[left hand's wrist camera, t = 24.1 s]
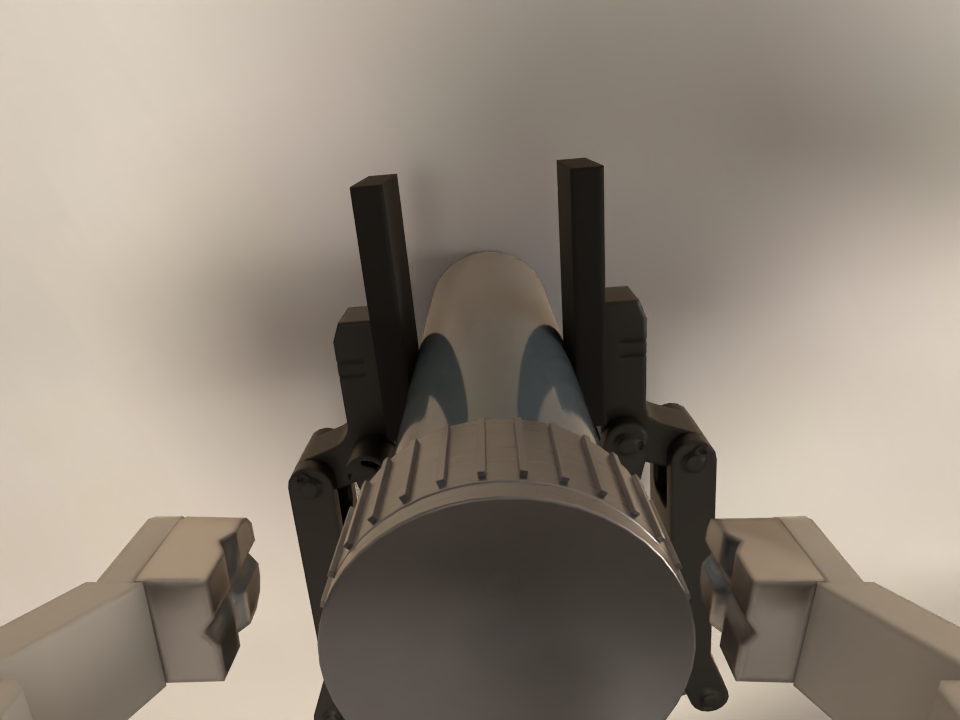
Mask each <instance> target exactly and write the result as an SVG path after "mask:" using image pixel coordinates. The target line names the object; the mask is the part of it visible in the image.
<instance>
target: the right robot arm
mask: <svg viewBox="0 0 960 720" xmlns="http://www.w3.org/2000/svg"><path fill="white" fill-rule="evenodd" d="M557 181H558V209H559V236H560V263H561V290H562V317H563V342H564V345H565V347H566V350H567V353H568V356H569V358H570V361H571V364H572V367H573V369H574V372H575V375H576V378H577V380H578V383H579V386H580V389H581V391H582V394H583V397H584V400H585V402H586V405H587V408H588V411H589V413H590V416H591V419H592V422H593V424H594V427H595V430H596V433H597V435H598V438H599V441H600V444H601V446H602V449H604V450H605V451H606V452H608V453H609V454H610V453H612V452H614V453H615V454H616V455H617V456H618V458H619V461H620V463H621V465H622V466H623V467H625V468H626V469H627V471H628V472H629V473H630V475H631V476H633V475H634V474H636V475H637V476H638V477H639V479H641V475H642V471H643V468H644V464H645V462H649V463H650V496H651V499H652V500H653V503H654V505H655V507H656V509H657V512H658V514H659V516H660V518H661V521H662V523H663V525H664V527H665V530H666V532H667V534H668V536H669V539H670V541H671V543H672V545H673V548H674V550H675V552H676V554H677V557H678V559H679V561H680V563H681V566H682V569H680V572H681V574H682V576H683V579H684V581H685V583H686V585H687V588H688V590H689V592H690V597H691V599H689V601H690V604H691V607H692V610H693V616H694V622H695V628H696V650H695V656H694V662H693V667H692V671H691V674H690V677H689V680H688V683H687V685H686V688H685V690H684V692H683V694H682V695H681V696H683V695H686V694H687V696H688V698H689V700H690V702H691V704H692V705H693V706H694V707H695V708H696V709H698V710H701V711H714V710H717V709H719V708H721V707H722V706H723V705H724V704H725V703H726V702H727V700H728V697H729V696H728V691H727V688H726V686H725V684H724V681H723V679H722V677H721V674H720V672H719V670H718V667H717V665H716V663H715V660H714V658H713V656H712V653H711V626H712V625H711V624H710V623H709V621H708V618H707V616H706V614H705V611H704V608H703V604H702V600H701V591H700V574H701V565H702V562H703V561H704V560H705V559H706V558H707V557H708V556H709V555H710V554H711V551H710V549H709V547H708V545H707V543H706V541H705V538H706V532H707V527H708V524H709V522H710V520H711V519H715V497H716V464H717V458H716V453H715V451H714V449H713V448H712V446H711V445H710V443H709V442H708V441H707V439H706V437H705V436H704V435H703V433H702V432H701V430H700V429H699V427H698V426H697V424H696V423H695V422H694V420H693V419H692V417H691V416H690V414H689V413H688V412H687V410H686V409H685V408H684V407H683V406H681V405H679V404H675V403H668V404H664V405H657V404H653V403H650V402H648V401H646V338H647V318H646V316H645V313H644V311H643V308H642V306H641V304H640V301H639V300H638V298H637V297H636V296H635V295H634V294H633V292H632V291H631V290H630V289H629V288H628V286H621V287H608V288H605V241H604V166H603V165H601V164H598V163H596V162H594V161H591V160H589V159H587V158H576V159H565V160H557ZM350 193H351V199H352V206H353V213H354V219H355V226H356V233H357V239H358V246H359V253H360V259H361V266H362V272H363V279H364V286H365V292H366V299H367V306H363V307H351V308H348V309H347V311H346V312H345V314H344V315H343V317H342V318H341V319H340V321H339V322H338V325H337V329H336V334H335V338H334V342H333V343H334V349H335V354H336V360H337V363H338V364H337V366H338V372H339V376H340V383H341V389H342V395H343V400H344V406H345V412H346V417H347V423H346V424H344V425H343V426H340V427H338V428H336V429H333V428H323V429H319V430H318V431H316V432H315V433H314V434H313V435H312V437H311V439H310V441H309V443H308V444H307V446H306V448H305V450H304V452H303V454H302V456H301V458H300V460H299V462H298V463H297V465H296V467H295V470H294V472H293V474H292V476H291V478H290V480H289V484H288V490H289V495H290V500H291V505H292V510H293V516H294V521H295V526H296V531H297V536H298V542H299V547H300V552H301V557H302V562H303V567H304V573H305V578H306V583H307V588H308V593H309V599H310V604H311V609H312V614H313V619H314V625H315V630H316V635H317V640H318V633H319V623H320V619H321V615H322V611H323V607H320V602H321V598H322V595H323V592H324V589H325V586H326V583H327V580H328V576H327V575H328V572H329V569H330V566H331V563H332V560H333V557H334V553H335V550H336V547H337V544H338V541H339V538H340V535H341V532H342V529H343V526H344V523H345V520H346V517H347V514H348V511H349V508H350V506H352V507H356V503H357V497H356V490H355V484H354V482H357V484H358V486H359V488H360V491H361V488H362V484H363V483H364V482H365V480H367V481H368V482H370V480H371V479H372V478H373V477H374V476H375V474H376V473H377V472H378V471H379V470H380V469H381V467H382V464H383V461H384V460H385V459H386V458H387V457H389V458H390V459H391V458H392V454H393V451H394V447H395V443H396V439H397V435H398V431H399V427H400V423H401V419H402V415H403V411H404V407H405V403H406V399H407V395H408V391H409V387H410V384H411V380H412V376H413V372H414V368H415V364H416V360H417V356H418V352H419V347H418V339H417V331H416V323H415V315H414V307H413V299H412V291H411V283H410V275H409V267H408V259H407V251H406V242H405V234H404V226H403V218H402V210H401V202H400V194H399V186H398V178H397V174H389V175H377V176H368V177H367V178H365V179H363V180H362V181H360V182H358V183H356V184H355V185H353V186H351V187H350ZM314 720H345V719H344V717H343V716H342V714H341V713H340V711H339V710H338V708H337V707H336V705H335V704H334V702H333V700H332V698H331V696H330V694H329V692H328V689H327V687H326V685H325V682H324V681H323V685H322V688H321V692H320V696H319V699H318V703H317V706H316V710H315V714H314Z"/></svg>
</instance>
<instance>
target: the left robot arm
mask: <svg viewBox="0 0 960 720" xmlns="http://www.w3.org/2000/svg"><path fill="white" fill-rule="evenodd" d="M254 541H255V538H254V533H253V528H252V523H251V522H250V521H249V520H248V519H247V518H226V517H153V518H151V519H148V520H147V521H146V522H145V524H144V525H143V526H142V527H141V528H140V530H139V531H138V532H137V533H136V534H135V536H134V537H133V538H132V539H131V541H130V542H129V543H128V544H127V545H126V547H125V548H124V549H123V550H122V551H121V553H120V554H119V555H118V556H117V557H116V559H115V560H114V561H113V562H112V564H111V565H110V566H109V567H108V568H107V570H106V571H105V572H104V573H103V574H102V576H101V577H100V578H99V579H98V580H97V582H86V583H84V584H82V585H80V586H78V587H76V588H74V589H72V590H70V591H68V592H66V593H65V594H63V595H61V596H59V597H57V598H55V599H53V600H51V601H49V602H47V603H45V604H44V605H42V606H40V607H38V608H36V609H34V610H32V611H30V612H28V613H26V614H24V615H22V616H21V617H19V618H17V619H15V620H13V621H11V622H9V623H7V624H5V625H3V626H1V627H0V720H128V719H129V718H130V717H131V716H132V715H133V714H135V713H136V712H137V711H138V710H139V709H140V708H141V707H143V706H144V705H145V704H146V703H147V702H148V701H149V700H151V699H152V698H153V697H154V696H155V695H156V694H157V693H159V692H160V691H161V690H162V689H163V688H164V687H165V686H166V683H173V682H207V681H224V680H225V678H226V676H227V674H228V672H229V669H230V667H231V665H232V663H233V661H234V658H235V656H236V654H237V652H238V650H239V647H240V641H239V635H238V632H240V631H241V630H242V629H244V628H245V627H246V626H248V625H249V624H250V623H251V621H252V618H253V616H254V614H255V611H256V608H257V603H258V598H259V593H260V572H259V565H258V562H257V561H256V560H255V559H254V558H253V557H252V556H251V555H250V554H249V551H250V549H251V547H252V545H253V543H254ZM705 541H706V543H707V545H708V547H709V549H710V551H711V554H710V555H709V556H708V557H707V558H706V559H705V560H704V561H703V562H702V565H701V574H700V591H701V600H702V604H703V608H704V611H705V614H706V616H707V618H708V621H709V623H710V624H711V625H712V626H714V627H715V628H716V629H718V630H719V631H720V632H722V635H721V641H720V648H721V650H722V652H723V654H724V656H725V658H726V661H727V663H728V665H729V667H730V669H731V671H732V674H733V676H734V678H735V680H736V681H751V682H787V683H794V686H795V687H796V688H797V689H798V690H799V691H801V692H802V693H803V694H804V695H805V696H806V697H807V698H809V699H810V700H811V701H812V702H813V703H814V704H815V705H817V706H818V707H819V708H820V709H821V710H822V711H823V712H825V713H826V714H827V715H828V716H829V717H830V718H831V719H833V720H960V627H958V626H956V625H955V624H953V623H951V622H949V621H947V620H945V619H943V618H941V617H939V616H937V615H935V614H934V613H932V612H930V611H928V610H926V609H924V608H922V607H920V606H918V605H916V604H914V603H913V602H911V601H909V600H907V599H905V598H903V597H901V596H899V595H897V594H895V593H893V592H892V591H890V590H888V589H886V588H884V587H882V586H880V585H878V584H876V583H874V582H863V581H862V579H861V578H860V577H859V576H858V574H857V573H856V572H855V571H854V570H853V568H852V567H851V566H850V565H849V564H848V562H847V561H846V560H845V559H844V558H843V556H842V555H841V554H840V553H839V552H838V550H837V549H836V548H835V547H834V545H833V544H832V543H831V542H830V541H829V539H828V538H827V537H826V536H825V535H824V533H823V532H822V531H821V530H820V529H819V527H818V526H817V525H816V524H815V523H814V521H813V520H812V519H810V518H808V517H806V516H793V517H774V518H727V519H711V520H710V522H709V524H708V527H707V532H706V538H705Z"/></svg>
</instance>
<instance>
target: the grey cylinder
mask: <svg viewBox="0 0 960 720" xmlns="http://www.w3.org/2000/svg"><path fill="white" fill-rule="evenodd" d="M514 417H521V419H522V420H530V421H537V422H542V423H546V424H550V422H552V423H556V424H557V427H560V428H563V429H566V430H568V431H571V432H573V433H576V434H578V435H580V436H583V434H585V435H587V436H589V437H590V440H591V442H593V443H595V444H597V445H598V446H600V447H601V448H602V446H601V444H600V441H599V438H598V435H597V433H596V430H595V427H594V424H593V422H592V419H591V416H590V413H589V411H588V408H587V405H586V402H585V400H584V397H583V394H582V391H581V389H580V386H579V383H578V380H577V378H576V375H575V372H574V369H573V367H572V364H571V361H570V358H569V356H568V353H567V350H566V347H565V345H564V342H563V339H562V336H561V334H560V331H559V328H558V325H557V323H556V320H555V317H554V314H553V312H552V309H551V306H550V303H549V301H548V298H547V295H546V292H545V290H544V287H543V285H542V283H541V281H540V279H539V278H538V276H537V275H536V273H535V272H534V271H533V270H532V269H531V268H530V267H529V266H528V265H527V264H526V263H524V262H523V261H521V260H520V259H518V258H516V257H513V256H511V255H508V254H505V253H500V252H479V253H475V254H471V255H468V256H466V257H464V258H462V259H460V260H458V261H457V262H455V263H454V264H453V265H451V266H450V267H449V268H448V269H447V270H446V271H445V272H444V274H443V275H442V276H441V278H440V279H439V281H438V283H437V285H436V287H435V290H434V293H433V297H432V301H431V305H430V309H429V313H428V317H427V321H426V324H425V328H424V332H423V336H422V340H421V344H420V348H419V352H418V356H417V360H416V364H415V368H414V372H413V376H412V380H411V384H410V387H409V391H408V395H407V399H406V403H405V407H404V411H403V415H402V419H401V423H400V427H399V431H398V435H397V439H396V443H395V447H394V451H393V454H392V457H394V456H395V455H396V454H397V453H399V452H400V451H401V450H403V449H404V448H406V447H407V446H409V445H410V441H411V440H413V439H415V438H416V439H417V440H419V439H421V438H423V437H425V436H427V435H429V434H431V433H433V432H436V431H439V430H442V427H443V426H446V425H449V426H453V425H457V424H462V423H466V422H470V421H477V419H478V418H485V420H486V419H514Z"/></svg>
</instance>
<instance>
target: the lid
mask: <svg viewBox="0 0 960 720" xmlns="http://www.w3.org/2000/svg"><path fill="white" fill-rule="evenodd" d="M680 569H682V566H681V563H680V561H679V559H678V557H677V554H676V552H675V550H674V548H673V545H672V543H671V541H670V539H669V536H668V534H667V532H666V530H665V527H664V525H663V523H662V521H661V518H660V516H659V514H658V512H657V509H656V507H655V505H654V503H653V500H652V499H651V500H648V497H647V495H646V493H645V491H644V488H643V486H642V484H641V481H640V479H639V477H638V476H637V475H636V474H634V475H633V476H631V475H630V473H629V472H628V471H627V469H626V468H625V467H623V466H622V465H621V463H620V461H619V458H618V456H617V455H616V454H615V453H614V452H612V453H610V454H609V453H608V452H606V451H605V450H604V449H602V448H601V447H600V446H598V445H597V444H595V443H593V442H591V440H590V437H589V436H587V435H585V434H583V436H580V435H578V434H576V433H573V432H571V431H568V430H566V429H563V428H560V427H557V424H556V423H552V422H550V424H546V423H542V422H537V421H530V420H522V419H521V417H514V419H486V420H485V418H478V419H477V421H470V422H466V423H462V424H457V425H453V426H449V425H446V426H443V427H442V430H439V431H436V432H433V433H431V434H429V435H427V436H425V437H423V438H421V439H419V440H417V439H416V438H415V439H413V440H411V441H410V445H409V446H407V447H406V448H404V449H403V450H401V451H400V452H399V453H397V454H396V455H395V456H394V457H392V458H391V459H390V458H389V457H387V458H386V459H385V460H384V461H383V464H382V467H381V469H380V470H379V471H378V472H377V473H376V474H375V476H374V477H373V478H372V479H371V480H370V482H368V481H367V480H365V482H364V483H363V484H362V488H361V491H360V494H359V497H358V500H357V503H356V507H352V506H350V508H349V511H348V514H347V517H346V520H345V523H344V526H343V529H342V532H341V535H340V538H339V541H338V544H337V547H336V550H335V553H334V557H333V560H332V563H331V566H330V569H329V572H328V575H327V576H328V580H327V583H326V586H325V589H324V592H323V595H322V598H321V602H320V607H323V611H322V615H321V619H320V623H319V633H318V653H319V663H320V667H321V671H322V675H323V678H324V682H325V685H326V687H327V689H328V692H329V694H330V696H331V698H332V700H333V702H334V704H335V705H336V707H337V708H338V710H339V711H340V713H341V714H342V716H343V717H344V719H345V720H666V718H667V717H668V716H669V714H670V713H671V712H672V710H673V709H674V707H675V706H676V705H677V703H678V701H679V699H680V697H681V695H682V694H683V692H684V690H685V688H686V685H687V683H688V680H689V677H690V674H691V671H692V667H693V662H694V656H695V650H696V628H695V622H694V616H693V610H692V607H691V604H690V601H689V599H691V597H690V592H689V590H688V588H687V585H686V583H685V581H684V579H683V576H682V574H681V572H680Z"/></svg>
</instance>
